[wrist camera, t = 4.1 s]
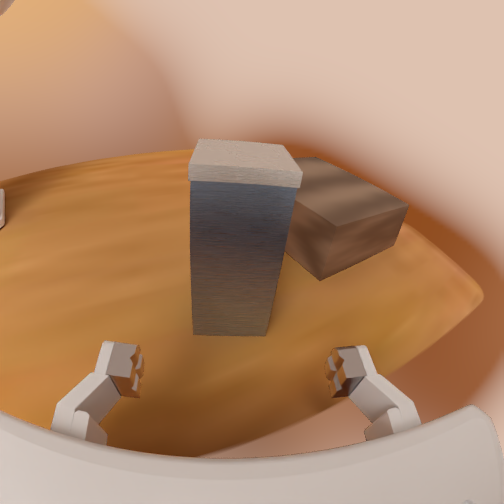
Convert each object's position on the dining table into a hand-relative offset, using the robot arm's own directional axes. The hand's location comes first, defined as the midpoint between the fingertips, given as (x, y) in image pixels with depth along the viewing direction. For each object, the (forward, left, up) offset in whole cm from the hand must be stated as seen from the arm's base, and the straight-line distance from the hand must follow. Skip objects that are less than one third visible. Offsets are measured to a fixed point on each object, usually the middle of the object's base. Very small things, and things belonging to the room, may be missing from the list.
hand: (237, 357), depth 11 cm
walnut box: (-14, +20, -6) cm, 25 cm away
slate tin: (-7, +4, -6) cm, 10 cm away
